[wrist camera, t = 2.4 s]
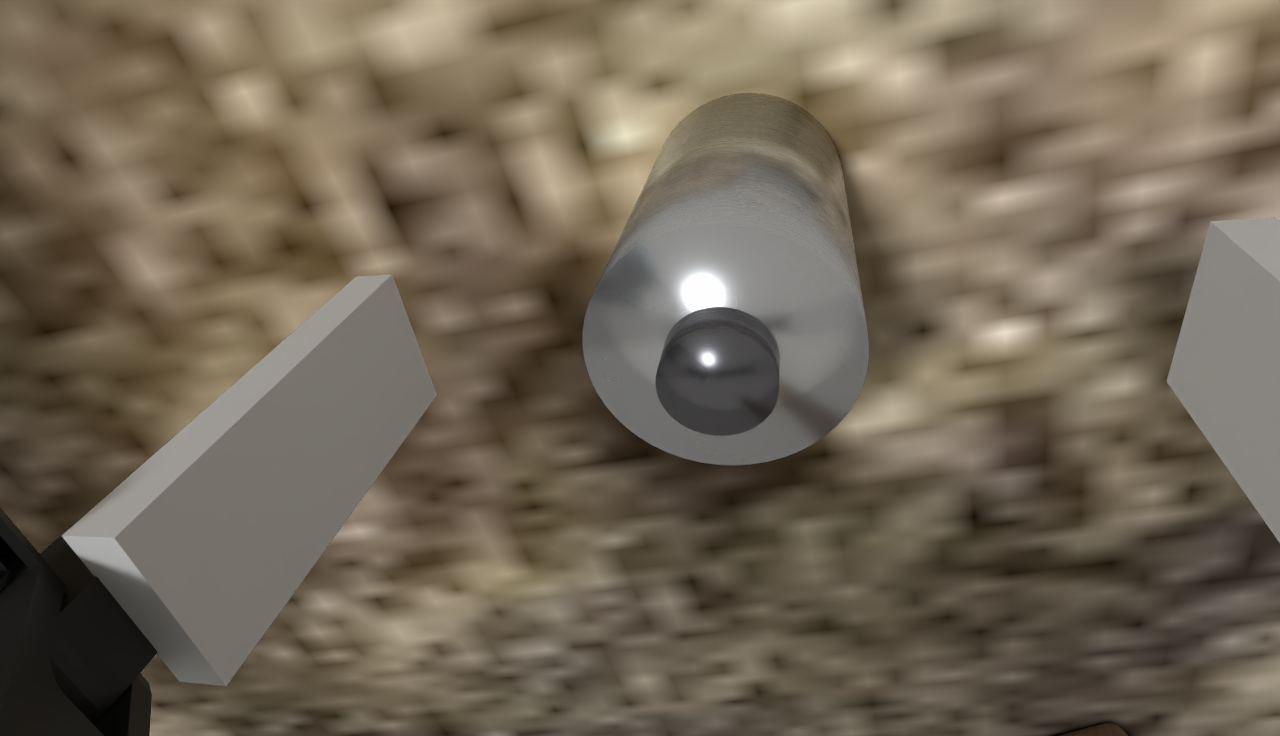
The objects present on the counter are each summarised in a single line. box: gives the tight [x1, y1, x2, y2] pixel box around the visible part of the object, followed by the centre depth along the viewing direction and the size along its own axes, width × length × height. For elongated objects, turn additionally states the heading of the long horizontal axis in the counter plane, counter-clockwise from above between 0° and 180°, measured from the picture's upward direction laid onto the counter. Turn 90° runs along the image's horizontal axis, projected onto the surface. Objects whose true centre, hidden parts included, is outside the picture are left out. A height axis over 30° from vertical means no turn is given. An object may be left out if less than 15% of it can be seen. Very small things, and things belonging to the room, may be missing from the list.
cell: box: [582, 93, 869, 465], centre depth 14 cm, size 4×4×8 cm
